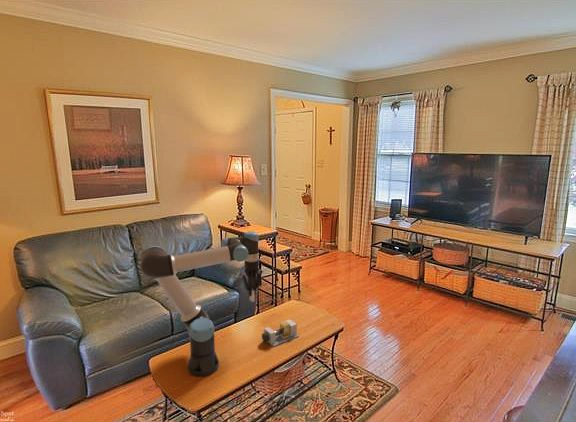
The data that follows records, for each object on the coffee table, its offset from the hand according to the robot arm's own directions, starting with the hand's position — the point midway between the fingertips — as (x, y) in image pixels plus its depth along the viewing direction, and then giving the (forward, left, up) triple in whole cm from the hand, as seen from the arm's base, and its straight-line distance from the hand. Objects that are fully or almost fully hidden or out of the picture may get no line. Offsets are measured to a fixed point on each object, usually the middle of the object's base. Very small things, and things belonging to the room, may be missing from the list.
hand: (252, 300), depth 189 cm
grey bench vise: (+15, -7, -24) cm, 29 cm away
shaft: (+9, -7, -23) cm, 25 cm away
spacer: (+18, -7, -23) cm, 30 cm away
